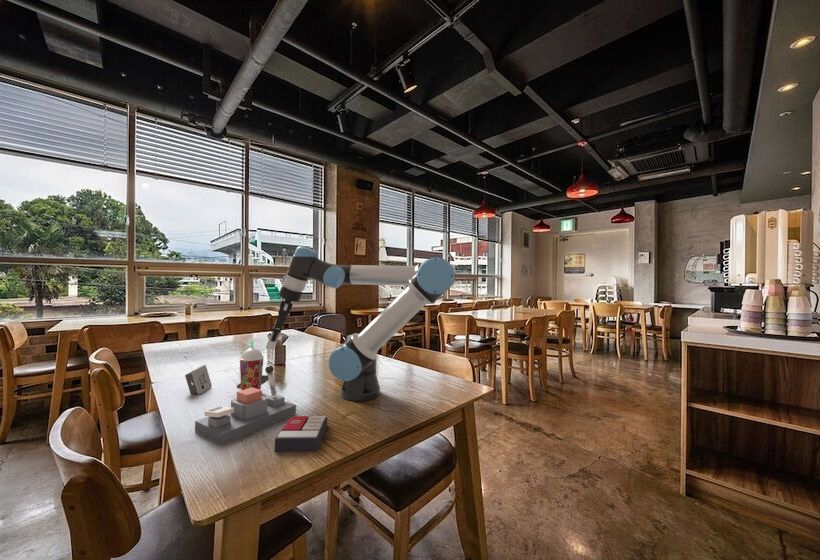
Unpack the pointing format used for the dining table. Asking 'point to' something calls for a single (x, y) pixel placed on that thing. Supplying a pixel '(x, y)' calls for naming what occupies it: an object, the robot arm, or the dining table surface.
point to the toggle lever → (271, 379)
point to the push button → (249, 395)
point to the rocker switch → (219, 411)
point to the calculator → (301, 434)
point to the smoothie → (251, 368)
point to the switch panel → (245, 419)
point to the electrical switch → (198, 380)
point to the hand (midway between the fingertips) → (272, 342)
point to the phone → (264, 378)
